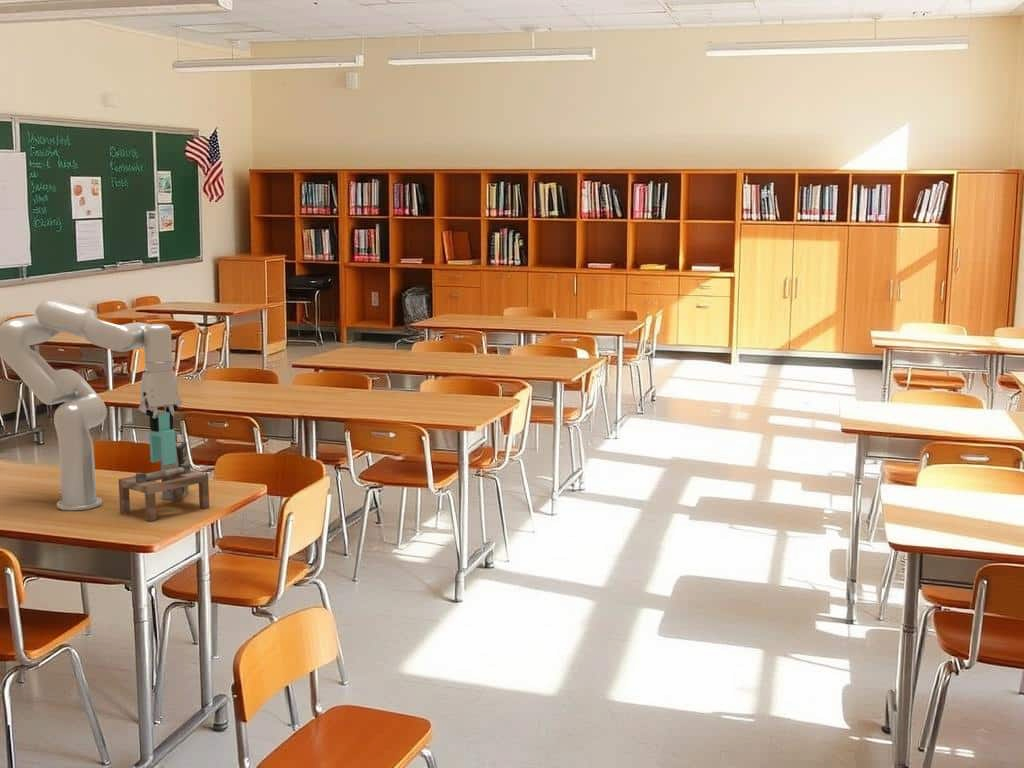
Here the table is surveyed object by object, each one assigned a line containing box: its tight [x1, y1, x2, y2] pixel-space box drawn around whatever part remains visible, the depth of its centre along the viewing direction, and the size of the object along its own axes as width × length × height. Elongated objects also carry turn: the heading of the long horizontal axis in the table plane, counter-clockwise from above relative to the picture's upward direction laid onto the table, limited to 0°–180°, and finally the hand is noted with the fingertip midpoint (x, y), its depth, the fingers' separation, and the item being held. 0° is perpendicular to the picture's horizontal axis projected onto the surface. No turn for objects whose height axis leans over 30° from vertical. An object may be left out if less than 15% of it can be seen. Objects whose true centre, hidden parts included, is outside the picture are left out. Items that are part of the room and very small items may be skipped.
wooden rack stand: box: [118, 463, 210, 523], centre depth 331 cm, size 15×20×12 cm
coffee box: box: [160, 441, 190, 500], centre depth 348 cm, size 9×6×16 cm
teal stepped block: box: [148, 411, 176, 465], centre depth 329 cm, size 7×4×15 cm, turn 51°
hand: (161, 429), depth 329 cm, fingers closed on teal stepped block, 4 cm apart
